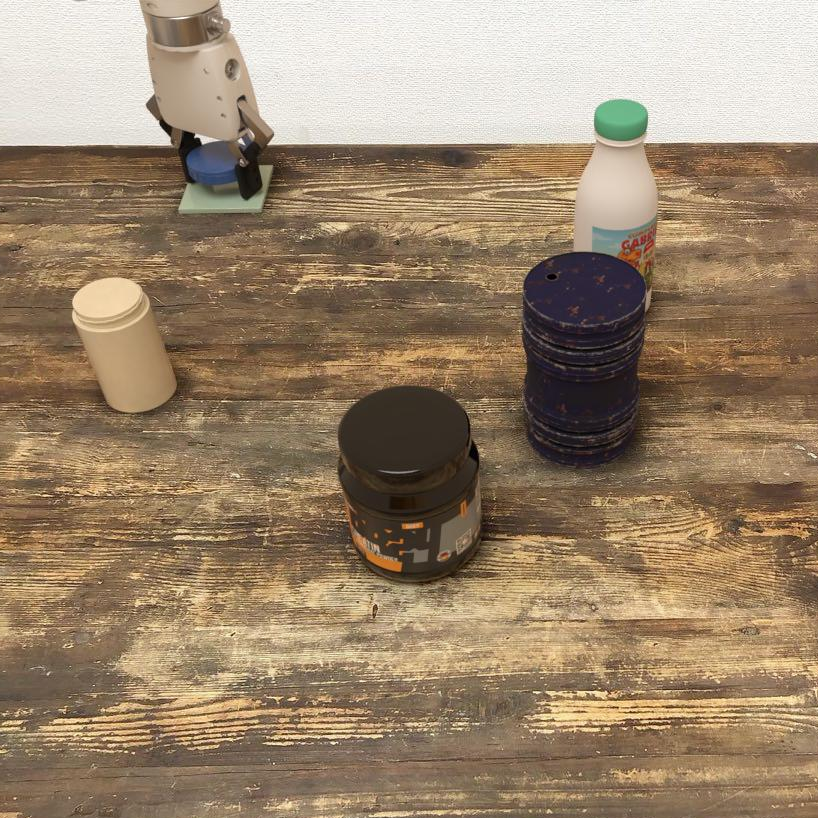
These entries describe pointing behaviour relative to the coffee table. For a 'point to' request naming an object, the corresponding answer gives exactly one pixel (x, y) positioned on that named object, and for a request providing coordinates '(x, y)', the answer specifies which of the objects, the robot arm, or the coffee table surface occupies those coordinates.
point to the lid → (212, 163)
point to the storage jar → (582, 356)
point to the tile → (224, 197)
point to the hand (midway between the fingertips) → (224, 184)
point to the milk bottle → (619, 191)
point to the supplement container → (410, 482)
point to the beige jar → (124, 344)
